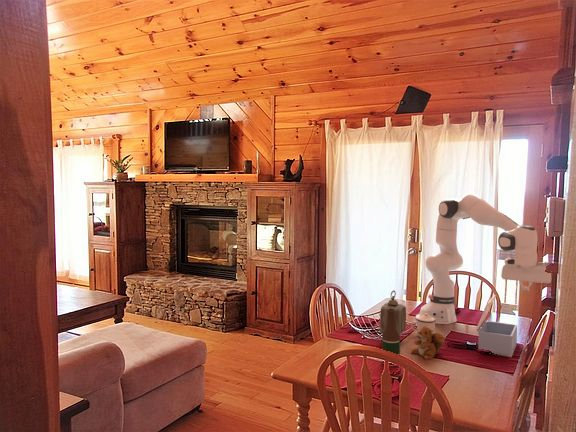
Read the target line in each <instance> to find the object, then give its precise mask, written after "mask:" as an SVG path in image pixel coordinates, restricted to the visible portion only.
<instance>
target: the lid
mask: <svg viewBox="0 0 576 432" xmlns="http://www.w3.org/2000/svg"><path fill="white" fill-rule="evenodd" d="M496 296H497V295H496V294H493V295H492V296H491V298H490V299H489V300H488V302H487V303H486V305H485V307H484V310H483V312H482V315H481V317H480V320H479V321H478V324H477V326H476V328H475V330H476V332H479V330H480V329H481V327H482V326H483V324H484V323H485V322H486V321H487V320H486V318H487V316H488V313H489V311H490V310H491V306H492V304H493V302H494V300H495V298H496Z"/></svg>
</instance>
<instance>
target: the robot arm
mask: <svg viewBox="0 0 576 432" xmlns="http://www.w3.org/2000/svg"><path fill="white" fill-rule="evenodd" d="M461 219H462V220H466V219H471V220H473V221H474V222H475V223H476V224H479V225H481V226H489V227H495V228H496V227H497V228H500V229H502V230H503V231H504V232H501V233H500V234H499V236H498V239H497V241H498V246H499V248H500V249H501V251H503V252H509V253H510V252H515V256H511V257H506V258H505V259H504V265H503V266H502V268H501V275H500V276H501V279H502V280H505V281H506V280H509V281H517V282H518V283H519V285H520V286H521V291H524V292H529V291H530V287H532V284H533V283H539V284H541V283H542V284H550V283H552V274H551V273H552V272H551V273H547V272H545V270H546V266H547V265H549V264H550V263H549V262H548V261H545V262H544V261H538V253H537V248H538V241H539V240H538V232H537V229H536V228H535V227H534V226H531V225H529V224H528V225H526V224H519V223H517V222H515V221H514V220H513V219H511V218H510V217H508V216H507V215H506V214H504V213H503V212H501V211H499V210H497V209H496V208H494V207H493V206H492V205H491V204H489V203H488V202H487V201H486V200H484V199H483V197H481V196H479V195H477V194H476V193H473V192H469V193H466V194H465V195H463V196H462V198H447V199H444V200H441V202H440V203H439V205H438V217H437V221H436V228H435V229H436V230H435V233H436V235H435V242H436V244H438V246H439V249H440V253H439V252H438V253H434V254H431V255H429V256H428V257H427V258H426V259H425V267H426V269H427V271H428V272H430V274H431V276H432V280H433V294H430V293H429V294H428V295H427V296H428V298H429V302H427V303H425V304H424V305H422V306H421V308H420V311H419V313H418V314H416V315H415V319H416V320H417V318H418V317H420V316H423V315H424V314H425V313H427V314H428V315H429V316H431V317H433V318H435V325H436V324H440V325H451V324H453V323H456V322H457V321H458V320H457V316H456V311H455V305H456V296H455V282H454V281H453V280H452V279H451V276H450V272H453V271H455V270H458V269H460V268H461V267H462V266H463V263H464V260H463V256H462V255H461V253H460V252H459V250H458V246H457V245H458V244H457V235H458V222H459V220H461ZM524 282H527V283H528V286H524V285H523V283H524Z"/></svg>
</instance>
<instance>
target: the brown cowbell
mask: <svg viewBox="0 0 576 432" xmlns="http://www.w3.org/2000/svg"><path fill="white" fill-rule="evenodd" d="M393 293H394V295H393ZM395 298H396V290H394V289H393V290H392V291H391V292H390V299H389V300H388V301H387V302H386V303H384V304H383V305H382V306H381V307H380V310H379V311H380V312H379V330H380V331H379V332H380V334H382V335H383V331H384V329H385V328H386V326H387V314H388V312H387V309H395V326H396V329H397V330H398V333H399V336H400V335H402V334H403V333H404V331H406V326H407V306H405V305H403V304H401V303H398V300H396V299H395Z"/></svg>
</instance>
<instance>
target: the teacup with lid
mask: <svg viewBox="0 0 576 432" xmlns="http://www.w3.org/2000/svg"><path fill="white" fill-rule="evenodd" d="M415 323H416V324H417V328H415V327H414V326H413V325H414V324H415ZM423 326H425V327H428V328H430V329H431V330H434V332H433V333H436V323H435V318H433V317H431V316H429V315H428V314H427V313H425V314H424V315H423V316H420V317H418V318H417V319H416V320H413V321H412V322H411V324H410V327H411V329H412V330H413V331H415V332H417V333H418V332H419V331H420V330H421V329H422V328H423ZM417 333H416V334H417ZM433 333H432V334H433ZM417 335H418V336H417ZM417 335H416V336H417V337H420V336H419V334H417ZM420 338H421V337H420Z"/></svg>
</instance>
